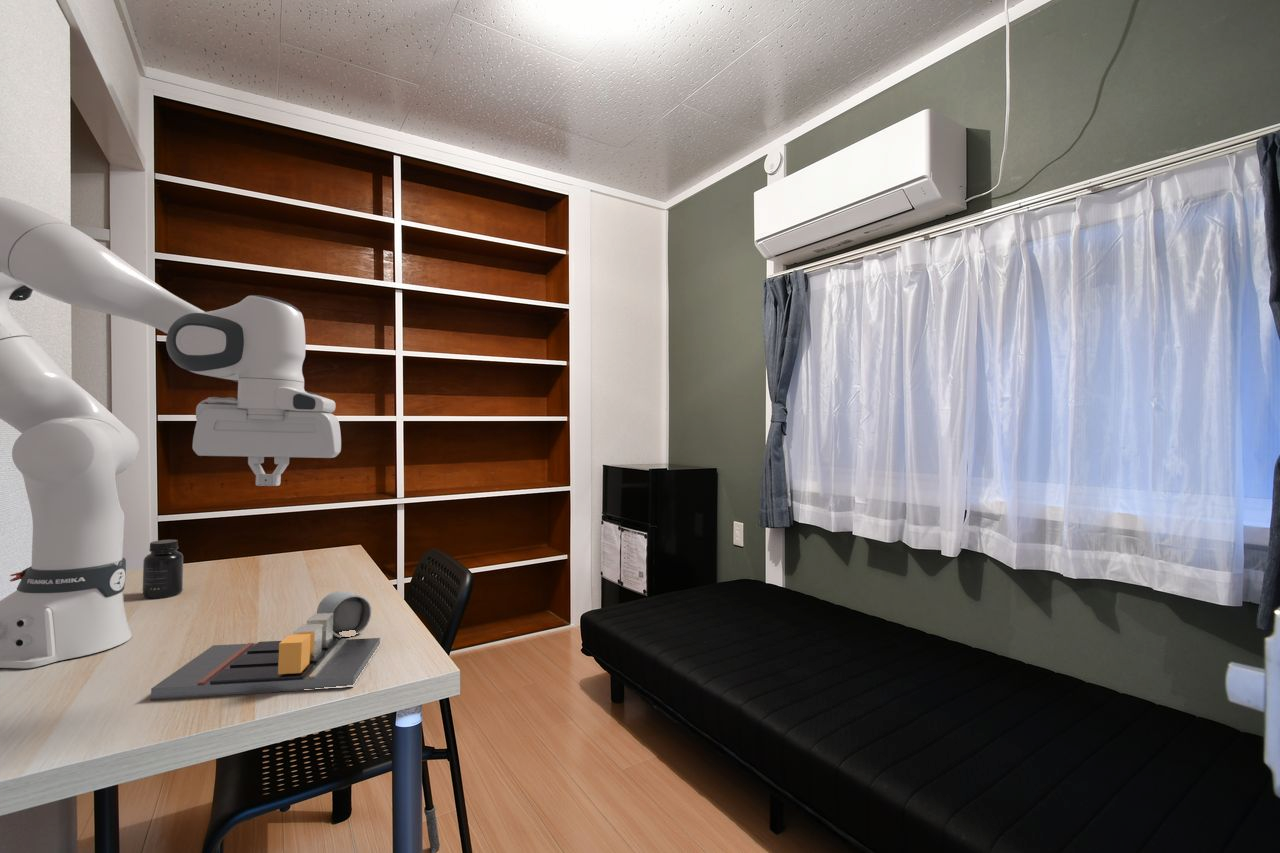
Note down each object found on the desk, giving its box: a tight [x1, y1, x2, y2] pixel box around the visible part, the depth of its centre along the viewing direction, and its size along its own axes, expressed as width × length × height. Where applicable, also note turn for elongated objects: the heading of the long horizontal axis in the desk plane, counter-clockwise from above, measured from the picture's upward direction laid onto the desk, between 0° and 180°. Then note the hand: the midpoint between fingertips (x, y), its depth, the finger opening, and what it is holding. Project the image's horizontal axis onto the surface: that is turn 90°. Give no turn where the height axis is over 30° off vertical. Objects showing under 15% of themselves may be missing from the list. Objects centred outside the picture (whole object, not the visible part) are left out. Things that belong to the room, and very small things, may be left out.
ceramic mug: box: [316, 590, 372, 639], centre depth 104 cm, size 11×8×8 cm
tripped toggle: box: [278, 634, 311, 674], centre depth 84 cm, size 3×4×4 cm
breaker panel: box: [150, 613, 381, 701], centre depth 88 cm, size 26×16×6 cm, turn 102°
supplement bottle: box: [142, 539, 184, 600], centre depth 124 cm, size 7×7×12 cm
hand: (268, 485), depth 89 cm, fingers closed
